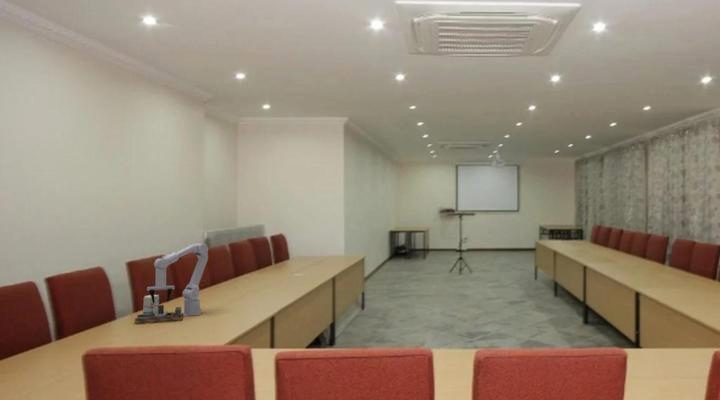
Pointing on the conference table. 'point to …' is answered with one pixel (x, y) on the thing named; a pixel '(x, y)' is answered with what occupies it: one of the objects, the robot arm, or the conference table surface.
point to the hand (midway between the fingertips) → (160, 302)
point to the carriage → (161, 311)
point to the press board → (160, 317)
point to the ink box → (150, 304)
